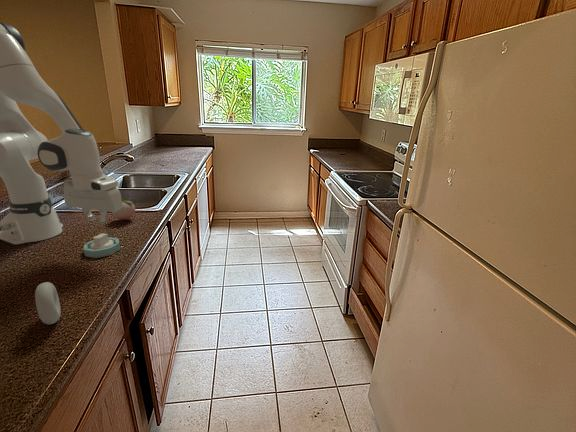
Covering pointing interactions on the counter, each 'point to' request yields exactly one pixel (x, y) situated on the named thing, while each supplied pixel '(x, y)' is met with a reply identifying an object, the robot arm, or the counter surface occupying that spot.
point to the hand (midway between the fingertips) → (97, 220)
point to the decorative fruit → (125, 210)
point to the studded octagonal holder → (101, 252)
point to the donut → (47, 303)
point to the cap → (101, 242)
